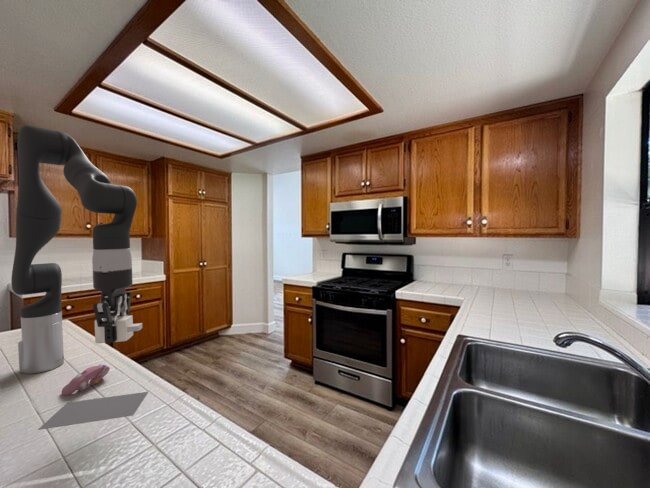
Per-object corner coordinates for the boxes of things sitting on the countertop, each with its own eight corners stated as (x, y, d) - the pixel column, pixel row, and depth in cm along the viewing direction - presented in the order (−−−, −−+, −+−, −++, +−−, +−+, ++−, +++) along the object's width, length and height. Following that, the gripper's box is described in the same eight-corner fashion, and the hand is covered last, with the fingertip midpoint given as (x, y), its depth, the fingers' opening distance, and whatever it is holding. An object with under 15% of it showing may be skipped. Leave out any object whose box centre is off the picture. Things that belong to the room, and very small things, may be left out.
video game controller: (71, 404, 73) (80, 381, 72) (57, 394, 74) (66, 372, 73) (107, 384, 83) (115, 363, 82) (95, 376, 83) (103, 356, 82)
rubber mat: (38, 431, 60) (37, 429, 60) (67, 404, 70) (67, 402, 70) (133, 417, 65) (133, 415, 65) (148, 393, 75) (148, 391, 75)
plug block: (91, 344, 65) (90, 322, 65) (100, 337, 69) (99, 317, 69) (137, 339, 67) (137, 319, 67) (144, 334, 71) (143, 314, 71)
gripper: (109, 265, 73) (111, 330, 74) (76, 272, 59) (79, 352, 60) (141, 264, 75) (144, 327, 76) (117, 271, 61) (120, 348, 62)
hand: (115, 338), depth 68 cm, fingers closed on plug block, 4 cm apart
